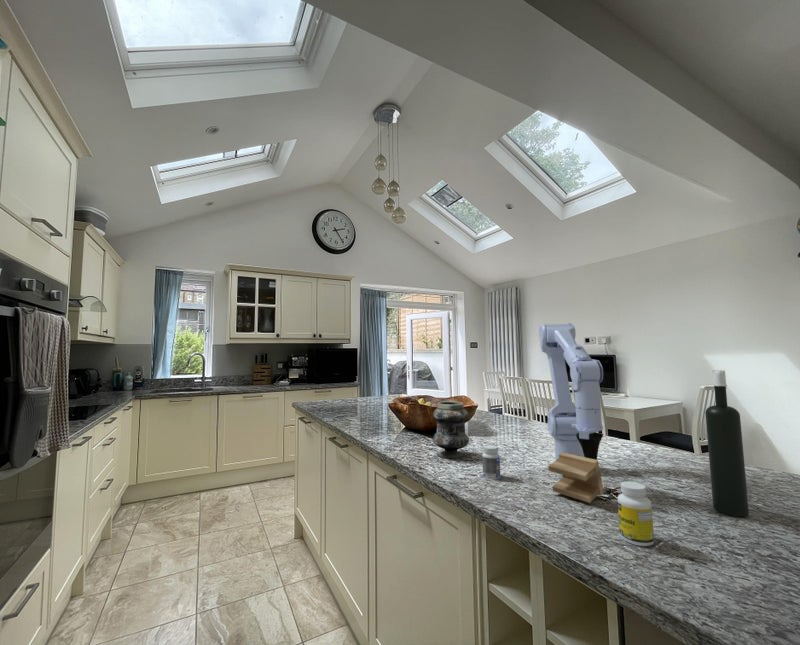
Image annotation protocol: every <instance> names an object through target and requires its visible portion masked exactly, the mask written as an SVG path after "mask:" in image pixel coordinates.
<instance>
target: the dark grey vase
mask: <svg viewBox="0 0 800 645" xmlns="http://www.w3.org/2000/svg"><path fill="white" fill-rule="evenodd" d="M432 416H433V418H434V419H435V420H436V433H434V435H433V437H432V442H433V443H434V445H435V446H437V447H438V448H441V449H443V450H442V451H441V452H438V453H437V454H436V456H437V457H438V458H440V459H444V460H453V461H454V460H461V459H465V458H467V456H466V454H465V453H464V452H462V451H459V450H461V449H463V448H466V446H468V444H469V443H470V438H469V436H468V435H467V434H466V420H467V419H468V418H469V412H468V411H467V410H466V409H465V407H464V403H463V402H461V401H456V400H455V401H453V400H452V401H451V400H443V401H438V403H437V408H436V409H434V411H433V415H432Z"/></svg>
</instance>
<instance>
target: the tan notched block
mask: <svg viewBox="0 0 800 645" xmlns="http://www.w3.org/2000/svg"><path fill="white" fill-rule="evenodd" d="M547 468H548V472H551V473H555V474H559V475H562V478H560V480H558V481H557V482H556V483H555V484H553V485H552V486H551V488H552V492H554V493H557V494H560V495H564V496H567V497H571V498H573V499H576V500H579V501H583V502H585V503H589V504H591V503H592V501H593V500H594V499H595V498H597V496H600V497H602V495H604V486H603V480H602V475H601V469H600V465H599V460H598V459H597V460H595V459H590V458H586V457H581V456H576V455H572V454H567V453H563V452H561V453H560V454H559V458H558V459H557V460H554V461H553V462H552V463H550V464H549V465H548V466H547Z"/></svg>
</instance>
